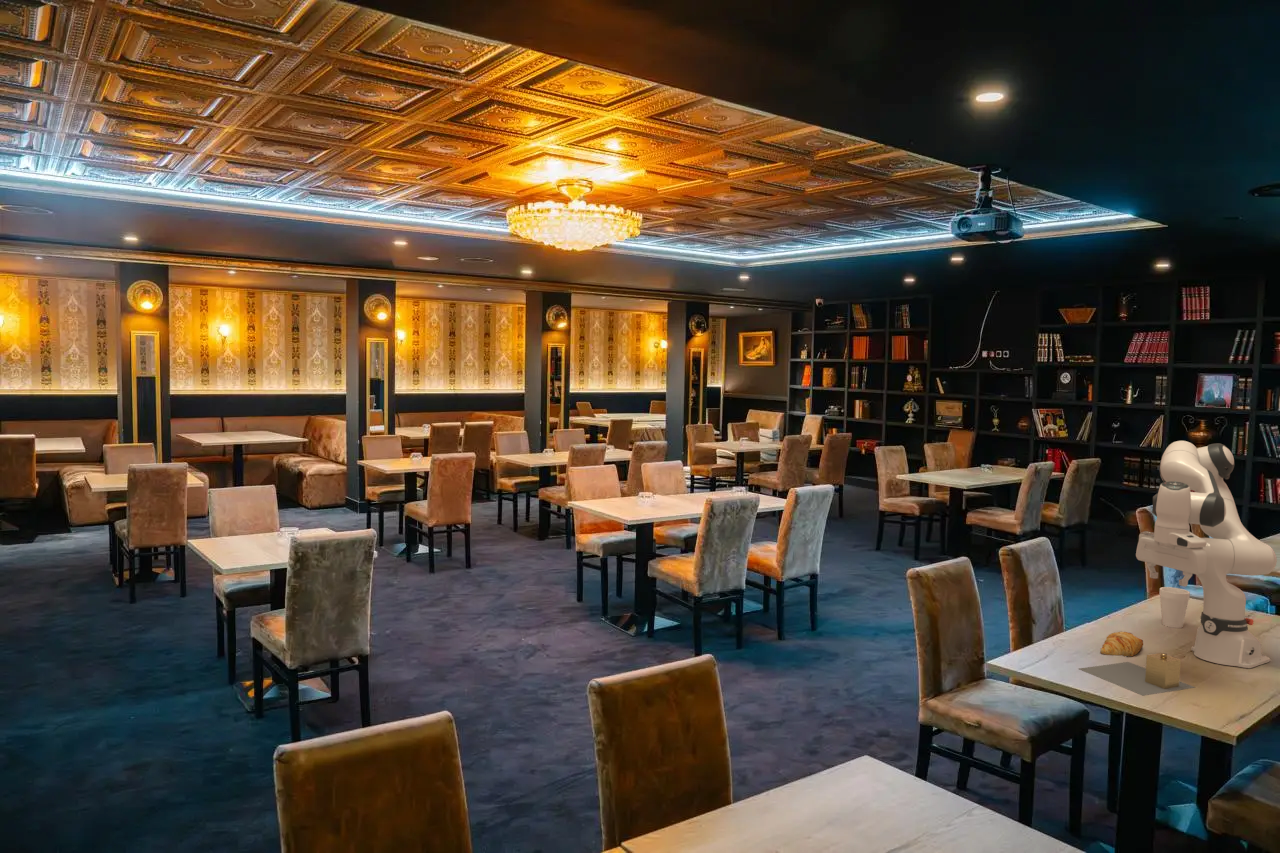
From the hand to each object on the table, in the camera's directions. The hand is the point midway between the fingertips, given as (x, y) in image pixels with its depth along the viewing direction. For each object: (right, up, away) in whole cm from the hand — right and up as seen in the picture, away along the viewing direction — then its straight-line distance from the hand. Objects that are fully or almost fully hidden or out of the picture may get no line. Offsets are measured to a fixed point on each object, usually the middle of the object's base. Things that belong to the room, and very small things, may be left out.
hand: (1168, 581), depth 252 cm
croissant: (0, -28, +24) cm, 37 cm away
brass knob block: (-6, -29, -6) cm, 30 cm away
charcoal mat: (-11, -29, -2) cm, 31 cm away
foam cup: (+36, -26, +55) cm, 71 cm away
